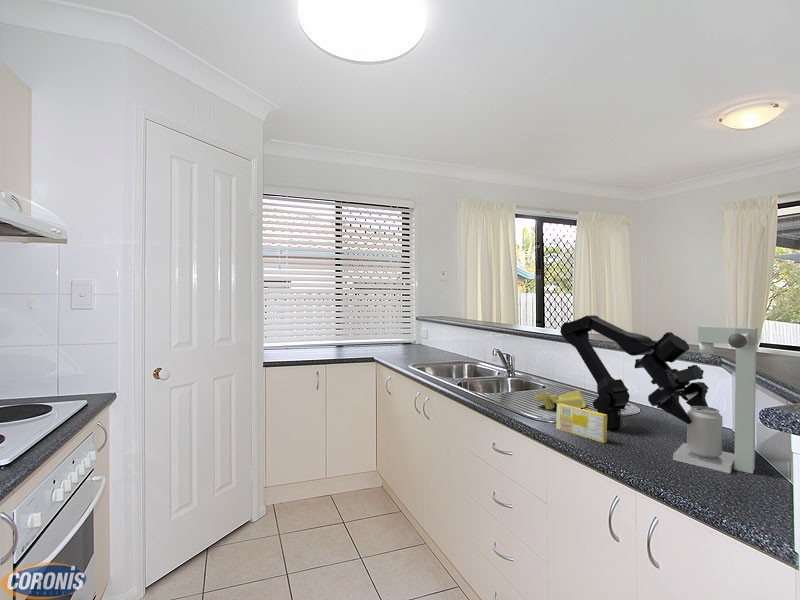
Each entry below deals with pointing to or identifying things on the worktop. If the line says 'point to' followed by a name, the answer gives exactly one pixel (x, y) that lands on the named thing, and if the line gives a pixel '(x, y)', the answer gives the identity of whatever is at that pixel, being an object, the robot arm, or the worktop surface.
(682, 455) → the plate
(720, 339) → the press frame
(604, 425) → the candy box
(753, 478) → the worktop surface
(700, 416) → the can
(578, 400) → the plastic component
